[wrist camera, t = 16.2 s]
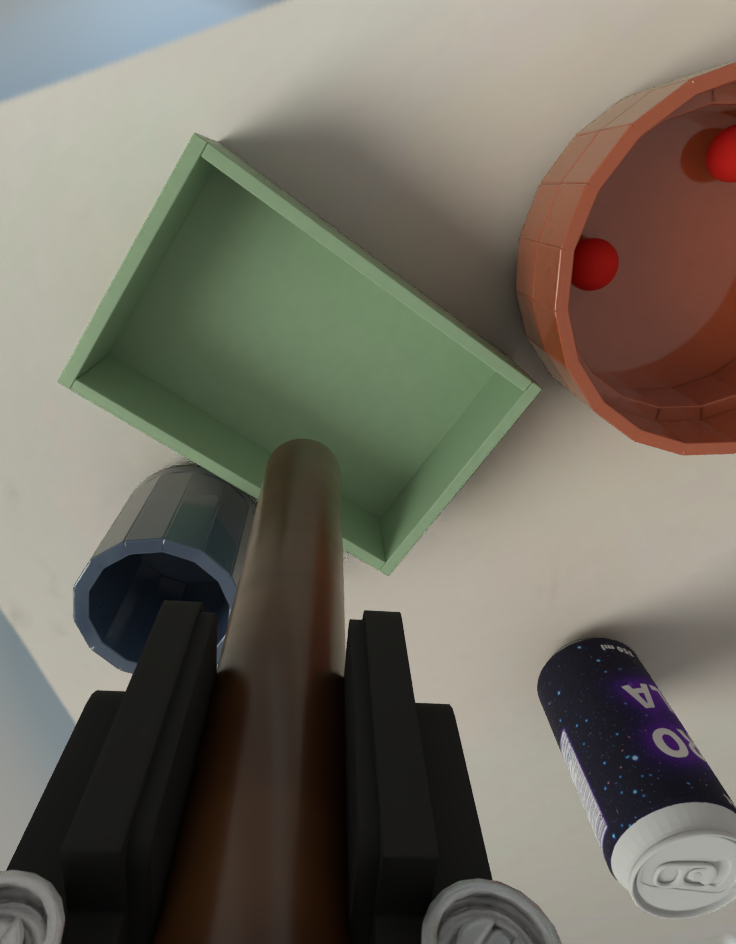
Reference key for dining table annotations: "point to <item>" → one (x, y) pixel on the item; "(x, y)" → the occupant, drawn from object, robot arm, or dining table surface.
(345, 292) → the tray
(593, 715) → the beverage can
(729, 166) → the berry
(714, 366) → the bowl
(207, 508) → the holder
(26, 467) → the dining table surface
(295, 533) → the stick
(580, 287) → the berry
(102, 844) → the robot arm
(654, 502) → the dining table surface
